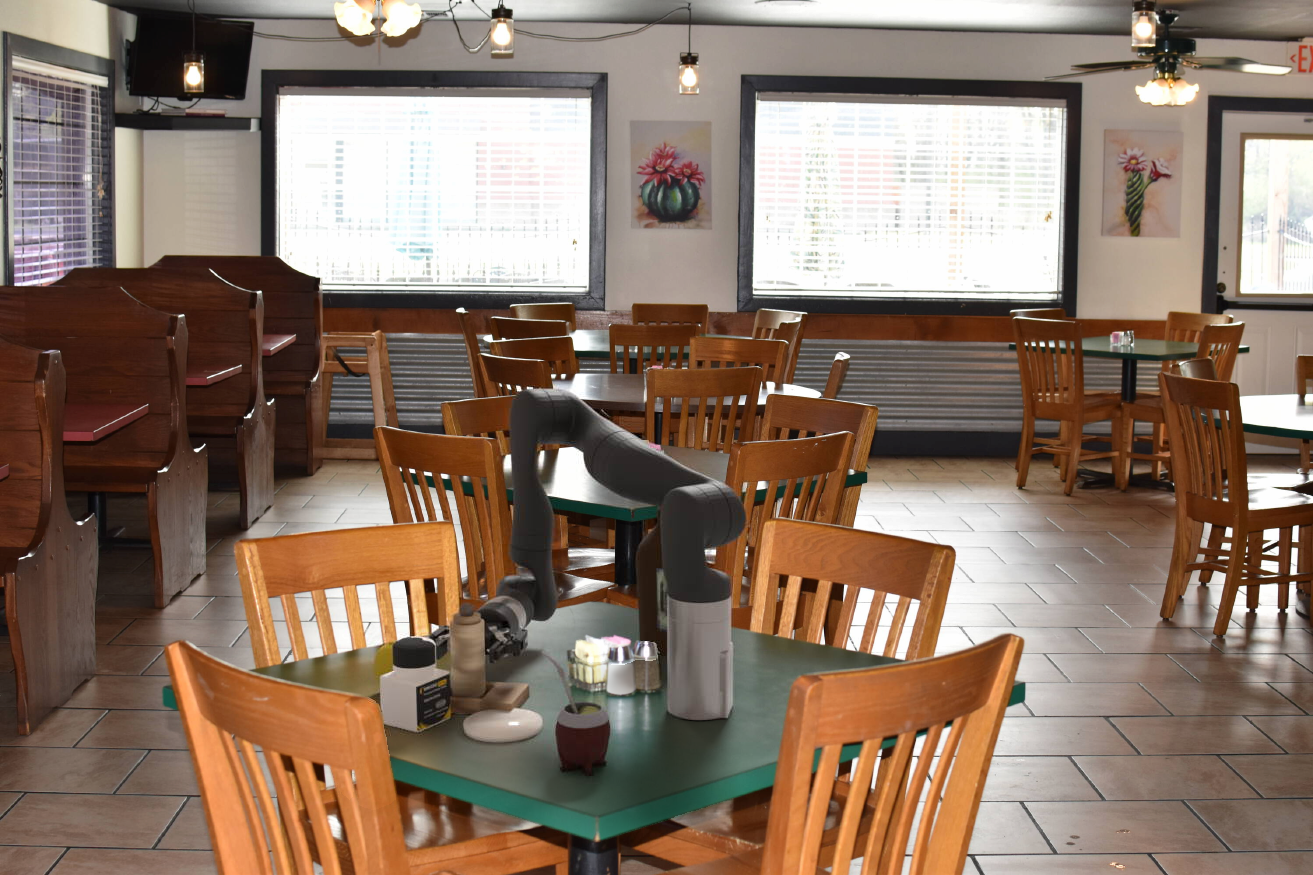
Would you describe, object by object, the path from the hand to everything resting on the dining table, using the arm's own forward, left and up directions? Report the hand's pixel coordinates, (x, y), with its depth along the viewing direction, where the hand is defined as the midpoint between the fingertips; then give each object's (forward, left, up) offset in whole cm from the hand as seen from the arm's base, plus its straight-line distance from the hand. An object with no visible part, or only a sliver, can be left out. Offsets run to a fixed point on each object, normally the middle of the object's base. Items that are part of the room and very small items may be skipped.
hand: (463, 654), depth 193 cm
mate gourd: (-22, +19, -8) cm, 30 cm away
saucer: (-8, +7, -8) cm, 13 cm away
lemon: (+13, -5, -8) cm, 16 cm away
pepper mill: (0, -2, -8) cm, 8 cm away
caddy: (-1, -2, -8) cm, 8 cm away
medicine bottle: (+5, +7, -8) cm, 12 cm away
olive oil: (-24, -35, -8) cm, 43 cm away
